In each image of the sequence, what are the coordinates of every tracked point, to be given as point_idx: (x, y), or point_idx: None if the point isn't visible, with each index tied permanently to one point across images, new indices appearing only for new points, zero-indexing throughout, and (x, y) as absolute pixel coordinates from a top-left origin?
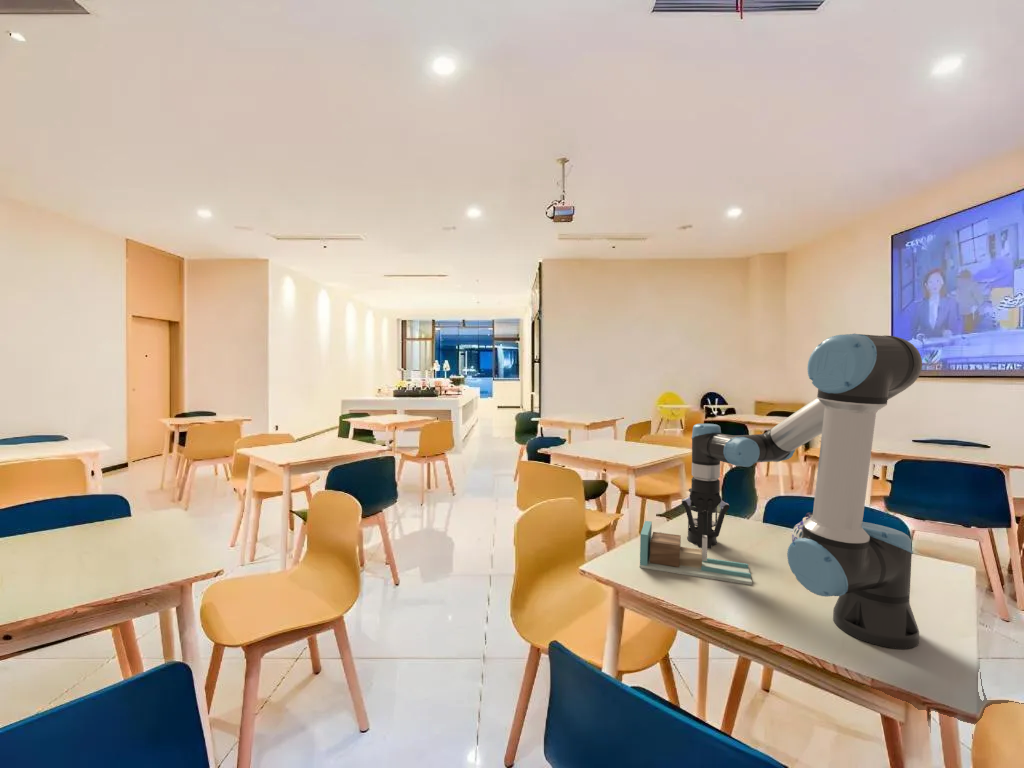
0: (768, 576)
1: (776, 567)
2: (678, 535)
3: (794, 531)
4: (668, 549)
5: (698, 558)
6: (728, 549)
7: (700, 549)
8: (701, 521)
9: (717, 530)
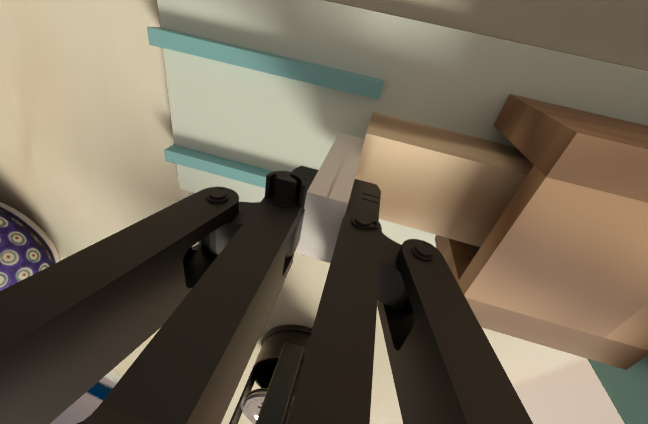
0: (113, 99)
1: (101, 186)
2: None
3: None
4: (644, 141)
5: (388, 130)
6: None
7: None
8: (325, 337)
9: (182, 219)
